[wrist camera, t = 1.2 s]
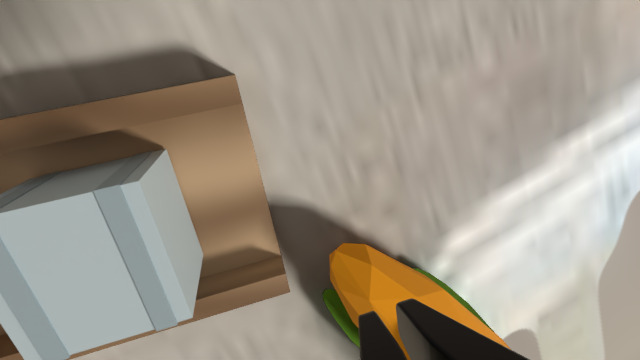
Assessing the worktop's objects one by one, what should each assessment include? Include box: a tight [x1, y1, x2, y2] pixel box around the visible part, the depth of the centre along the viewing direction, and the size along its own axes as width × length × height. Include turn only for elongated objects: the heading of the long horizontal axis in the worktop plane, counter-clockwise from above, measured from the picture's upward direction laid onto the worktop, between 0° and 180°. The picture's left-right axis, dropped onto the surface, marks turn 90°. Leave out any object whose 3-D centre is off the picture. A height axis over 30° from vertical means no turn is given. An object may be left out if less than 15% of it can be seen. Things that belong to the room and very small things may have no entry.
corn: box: [323, 243, 510, 360], centre depth 21 cm, size 7×8×20 cm
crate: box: [0, 149, 203, 360], centre depth 14 cm, size 6×6×5 cm
